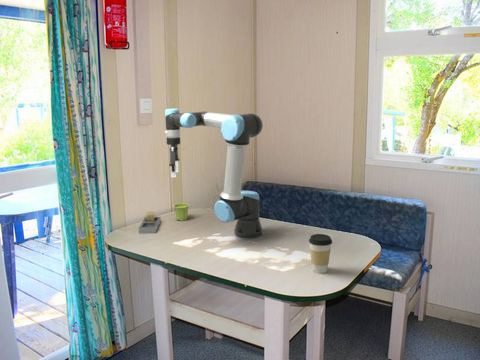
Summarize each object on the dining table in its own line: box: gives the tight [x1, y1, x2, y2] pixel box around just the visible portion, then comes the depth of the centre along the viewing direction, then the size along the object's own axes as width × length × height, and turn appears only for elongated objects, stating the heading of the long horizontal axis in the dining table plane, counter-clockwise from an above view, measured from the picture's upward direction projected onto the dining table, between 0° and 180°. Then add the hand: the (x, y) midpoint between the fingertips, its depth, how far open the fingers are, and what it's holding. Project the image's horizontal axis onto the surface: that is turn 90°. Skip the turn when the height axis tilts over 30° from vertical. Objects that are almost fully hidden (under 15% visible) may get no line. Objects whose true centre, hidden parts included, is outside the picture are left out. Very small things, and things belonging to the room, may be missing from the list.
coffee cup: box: [308, 233, 333, 274], centre depth 194 cm, size 10×10×15 cm
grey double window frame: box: [138, 216, 162, 234], centre depth 256 cm, size 9×20×3 cm, turn 2°
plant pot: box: [173, 202, 190, 222], centre depth 269 cm, size 9×9×9 cm
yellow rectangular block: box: [145, 211, 157, 221], centre depth 260 cm, size 4×4×7 cm
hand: (174, 174), depth 256 cm, fingers open, 13 cm apart
